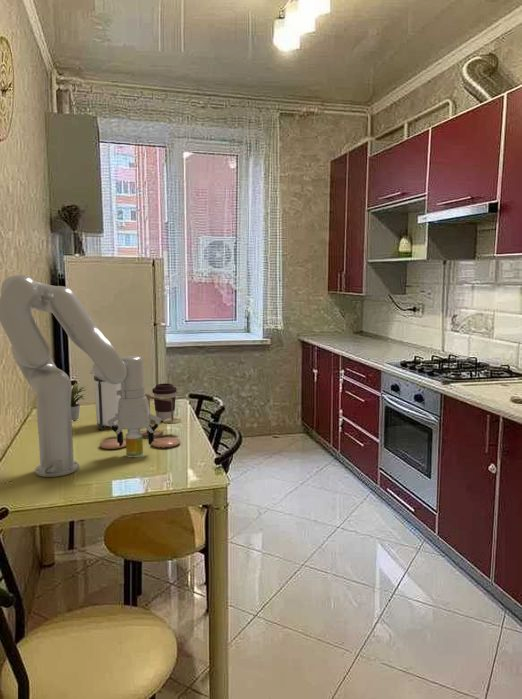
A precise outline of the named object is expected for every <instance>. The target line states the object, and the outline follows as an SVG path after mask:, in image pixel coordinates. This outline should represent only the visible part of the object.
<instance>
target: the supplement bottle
mask: <svg viewBox="0 0 522 699" xmlns="http://www.w3.org/2000/svg"><path fill="white" fill-rule="evenodd" d="M139 431H141V429H127V433H126V434H125V439H126V446H125V451H126V452H125V453H126V457H127V458H131V457H135V458H139V457H142V456H143V455H144V450H143V449H144V447H143V446H144V444H143V442H144V441H143V439H144V438H142V433H141V432H139Z"/></svg>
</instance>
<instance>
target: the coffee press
mask: <svg viewBox="0 0 522 699" xmlns="http://www.w3.org/2000/svg"><path fill="white" fill-rule="evenodd" d="M89 374H91V375H92V374H93V381H94V396H95V416H96V418H95V419H96V424H97V425H98V424H99V425H98V427H97V431H104V429H105V427H110V426H109V424H108V421H109V420H110V419H112V418H114V417H115V413H117V412H118V402H119V399H120V398H121V396H120V395H117V391H119V390H120V389H121V384H120V383H118V384H110V383H108V382H105V381H103V380H100V379H99V378H97V377H96V376H95V374H94V372H93V367H92V368H91V369H90V371H89ZM114 425H115V426H118V420H117V421H115V422H114Z"/></svg>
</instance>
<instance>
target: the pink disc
mask: <svg viewBox="0 0 522 699" xmlns="http://www.w3.org/2000/svg"><path fill="white" fill-rule="evenodd" d="M99 447H100V448H102V449H106V450H107V449H108V450H117V449H122V448H126V438H123V444H122V446H119V443H118V442H117V437H116V438H109V439H104V440H102V441H101V442H100V443H99Z"/></svg>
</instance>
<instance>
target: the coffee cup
mask: <svg viewBox="0 0 522 699" xmlns="http://www.w3.org/2000/svg"><path fill="white" fill-rule="evenodd" d="M151 390H152V394H153V396H155V397H162V398H168V399H172V404H173V418H175V410H176V393H177V387H175V386H174V385H173V384H172V383H168V382H165V383H158V384H156V385H155V387H153V388H152V389H151ZM153 401H154V410H155V416H157V417H159V418H161V421H163V420H165V419H169V418H172V416H171V402H170V401H164V400H157V399H153ZM161 421H160V422H161Z"/></svg>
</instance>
